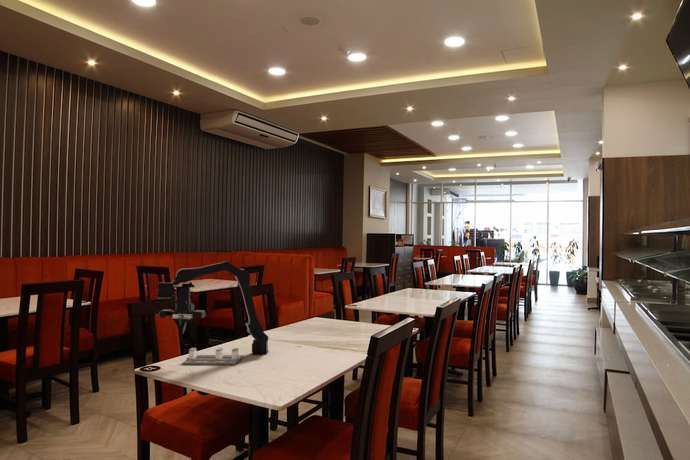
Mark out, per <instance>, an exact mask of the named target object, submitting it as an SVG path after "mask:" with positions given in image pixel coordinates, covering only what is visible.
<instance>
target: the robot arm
mask: <svg viewBox="0 0 690 460" xmlns="http://www.w3.org/2000/svg"><path fill="white" fill-rule="evenodd" d="M224 271H227V272H228V273H230V274H231V275H234V278H235V280H236V282H237V285H238V286H239V288H240V291H241V294H242V298H243V302H244V305H245V310H246V314H247V317H248V322H245V325H246V328H247V329H246V332H247V333H248V334H249V335H250V336H251V337H252V338H253V340H252V343H251V355H252V356H266V355H267V354H268V353H269V352H270V351H269V339H270V338H269V336H268V335H267V334H266V332H265V330H264V328H263V325H262V323H261V322H260V320H259V318H258V315H257V311H256V307H255V303H254V299H253V295H252V291H251V277H250V276H251V275H250V272H249V271H248V270H246V269H244V268H239V267H237V266H236V265H234V264H232V263H231V262H230V261H227V260H224V261H222V262H217V263H212V264H208V265H204V266H200V267H187V268H180V269H178V270H177V271H176V274H175V277H174V279H173V280H172V282H161V281H160V282H158V285H157V287H158V289H157V299H172V297H173V296H175V300H174V304H175V309H174V310H173V309H170V308H169V309H167V308H165V309H162V310H160V311H159V312H158V318H160V319H161V318H162V319H163V318H164V319H166V318H167V317H168V316H169V317H172V318H171V321H174V323H175V324H176V327H177V328H178V331H179V334H180V335H183V334H184V333H185V331H186V327H187V324H188V323H189V321H190V320H193V319H199V320H201V319H203V318H205V317H206V314H207V313H206V311H205V310H203V309H202V310H201V309H196V310H195V304H194V303H192V299H191V288H195V284H194V283H192V281H193V280H194V279H197V278H199V277H202V276H207V275H211V274H215V273H220V272H224ZM187 282H188V283H187ZM180 284H181V285H180Z"/></svg>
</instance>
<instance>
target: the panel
mask: <svg viewBox="0 0 690 460" xmlns="http://www.w3.org/2000/svg"><path fill="white" fill-rule="evenodd" d="M244 356H245V355H242V354H238V358H237V359H232V354H223V358H221V359H216V354H196V358H195V359H189V356H187V357H186V359H185V361H183V362H182V365H183V366H236V365H237V364H239V362H240V361H241V360H242V359H244Z"/></svg>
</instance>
